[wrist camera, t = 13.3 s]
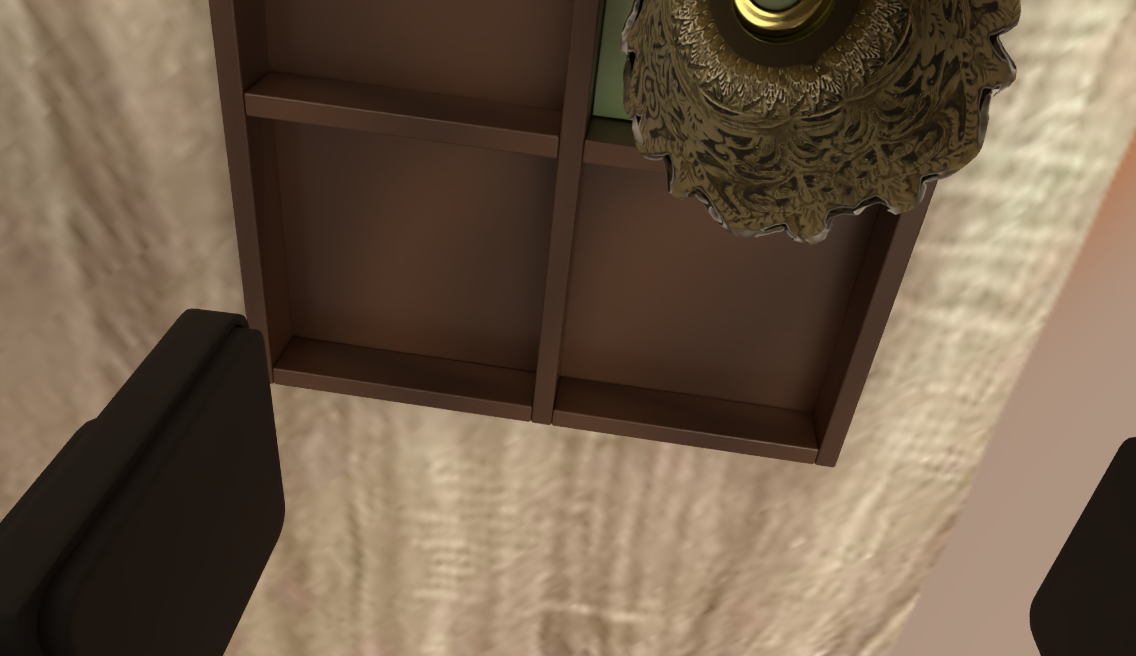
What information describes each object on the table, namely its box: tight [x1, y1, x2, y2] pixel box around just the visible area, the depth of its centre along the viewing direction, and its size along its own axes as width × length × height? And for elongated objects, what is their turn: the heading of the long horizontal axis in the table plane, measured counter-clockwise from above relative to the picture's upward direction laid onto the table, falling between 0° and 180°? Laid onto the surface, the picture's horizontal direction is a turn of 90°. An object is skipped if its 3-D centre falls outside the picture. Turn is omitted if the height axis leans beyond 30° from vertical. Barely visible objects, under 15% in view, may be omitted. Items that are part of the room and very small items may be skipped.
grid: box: [209, 0, 938, 467], centre depth 26 cm, size 20×20×3 cm
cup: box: [620, 0, 1021, 245], centre depth 20 cm, size 8×7×8 cm
